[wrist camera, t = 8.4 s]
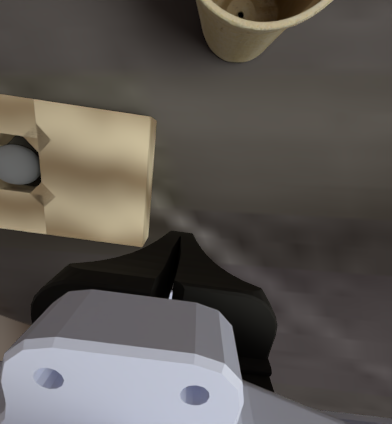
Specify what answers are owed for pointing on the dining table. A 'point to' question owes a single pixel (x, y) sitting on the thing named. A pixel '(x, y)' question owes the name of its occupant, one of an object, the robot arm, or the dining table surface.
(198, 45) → the dining table surface
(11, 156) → the ball
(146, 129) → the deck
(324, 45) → the dining table surface
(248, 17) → the flower pot
